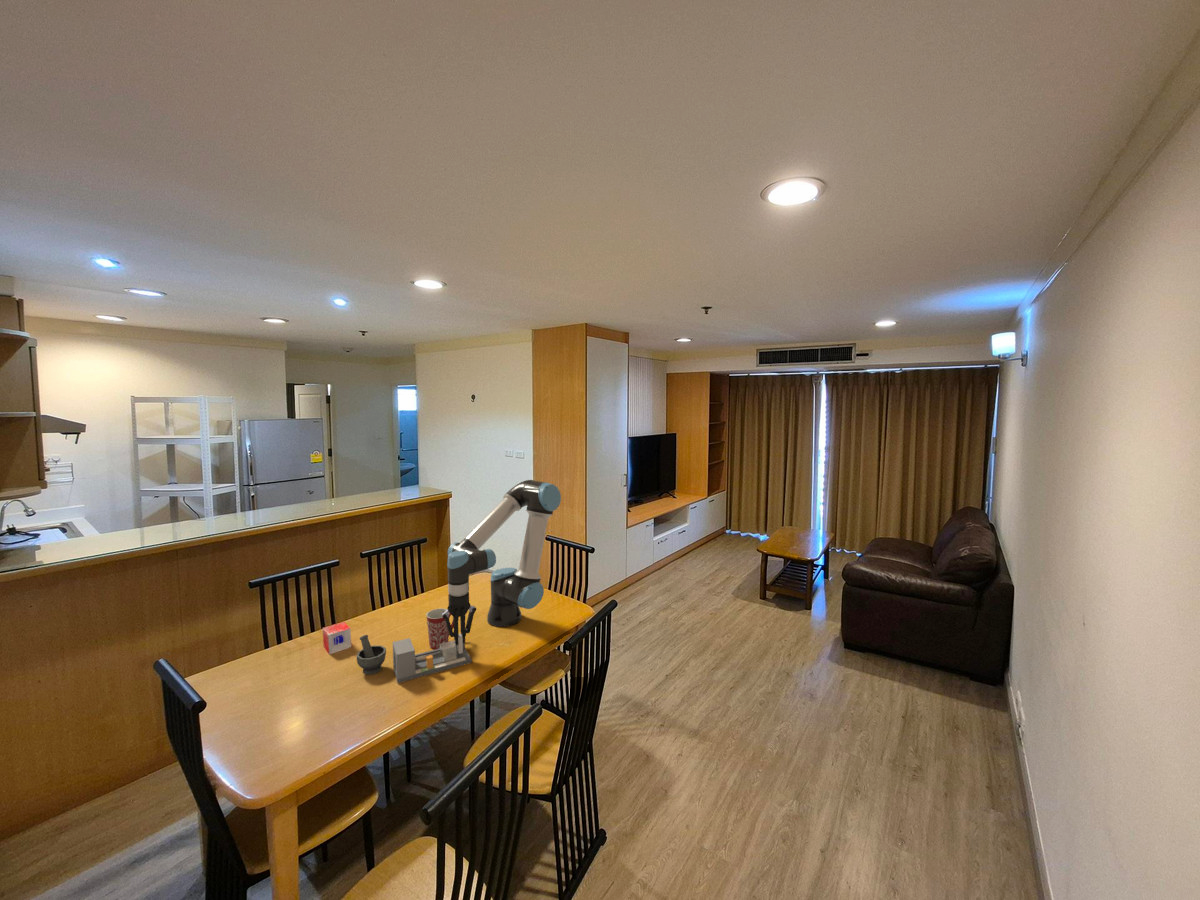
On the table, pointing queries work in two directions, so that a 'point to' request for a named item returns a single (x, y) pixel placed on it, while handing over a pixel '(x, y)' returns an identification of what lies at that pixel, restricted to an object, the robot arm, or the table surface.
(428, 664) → the tangerine cube
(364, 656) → the mortar and pestle
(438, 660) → the bench
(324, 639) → the toy block
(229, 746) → the table surface
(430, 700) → the table surface
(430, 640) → the mug
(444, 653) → the grey block with bar
